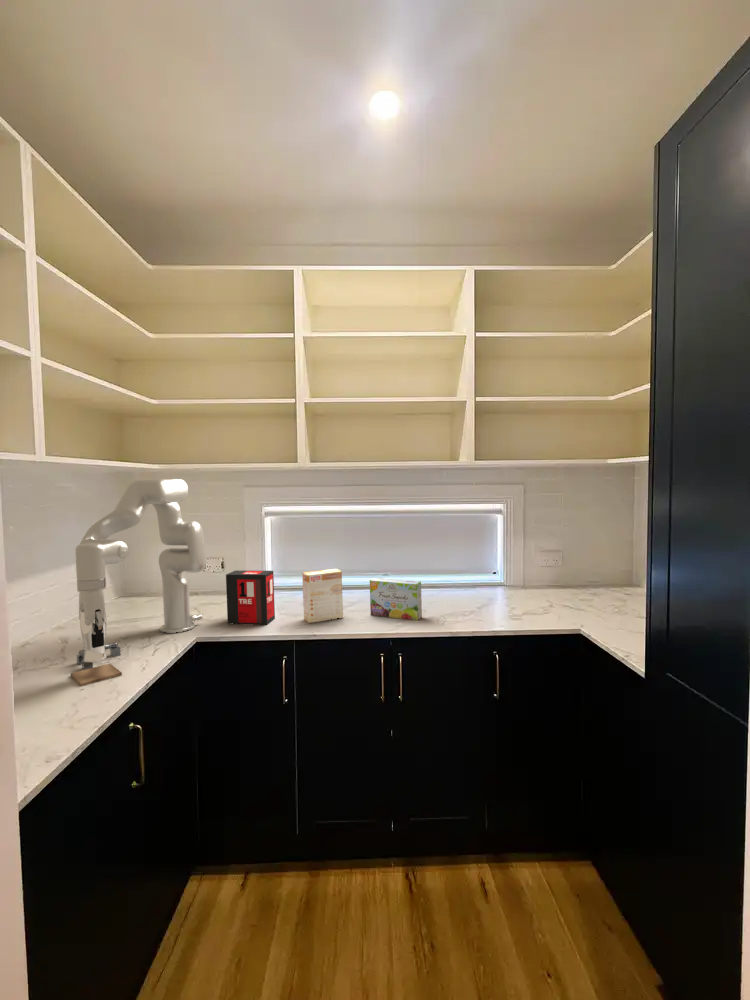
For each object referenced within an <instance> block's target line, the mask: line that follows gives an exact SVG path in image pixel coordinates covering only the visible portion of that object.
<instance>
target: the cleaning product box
mask: <svg viewBox="0 0 750 1000" xmlns="http://www.w3.org/2000/svg"><path fill="white" fill-rule="evenodd" d="M225 584H226V585H225V587H226V588H225V589H226V610H227V611H226V612H227V624H228V623H233V624H232V625H243V624H253V626H268V625H270V624H271V623H272V622H273V621H274V620H276V612H275V611H276V610H275V609H276V608H275V581H274V570H239V569H238V570H237V569H236V570H233V571H231V572H229V573H226V574H225Z"/></svg>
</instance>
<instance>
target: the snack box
mask: <svg viewBox="0 0 750 1000" xmlns="http://www.w3.org/2000/svg"><path fill="white" fill-rule="evenodd" d="M369 596H370V597H369V600H370V602H369V603H370V605H369V606H370V616H374V617H375V616H377V617H386V618H392V619H400V620H411V621H419V620H420V619H421V618H422V616H423V613H422V612H423V610H422V609H423V606H422V605H423V603H422V602H423V601H422V582H421V581H417V580H406V579H404V580H403V579H396V578H395V579H393V578H383V577H382V578H381V577H380V578H379V577H373V578H371V579H370V580H369Z"/></svg>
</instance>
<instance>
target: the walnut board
mask: <svg viewBox="0 0 750 1000" xmlns="http://www.w3.org/2000/svg"><path fill="white" fill-rule="evenodd" d="M122 673H123V672H122V671H120V670H119V669H118V668H116V667H115V666H114V665H112V663H107V664H102V665H98V666H95V667H94V666H93V668H90V669H86V670H84V669H83V670H78V671H75V672H71V673H70V677H71V678H72V679H73V680H74V681H75V682H76V683H77V684H78V685H79V686H80V687H83V685H84V686H88V685H90V683H91V684H94V682H95V683H97V682H102V681H105V679H106V680H109V678H110V679H113V678H116V677H119V676H123V675H122ZM101 680H102V681H101Z"/></svg>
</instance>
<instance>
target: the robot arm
mask: <svg viewBox="0 0 750 1000" xmlns="http://www.w3.org/2000/svg"><path fill="white" fill-rule="evenodd" d="M188 495H189V486H188V484H187V482H186V481H185V480H184V479H182V478H151V479H150V478H149V479H136V480H134V481H131V482H130V483H129V484H128V485H127V488H126V489H125V491H124V493H123V494H122V496H121V497H120V499H119V501H118V503H117V505H116V506H115V508H114V510H113V511H111V512H109V513H108V514H106V515H105V516H103V517H102V518H100V519H99V520H98V521H96V522H95V523H94V524H92V525H91V526H90V527H89V528H88V530H87V531H86V532H85V534H84V536H83V537H82V539H81V541H80V543H79V544H78V545H76V547H75V552H74V553H75V569H76V590H77V592H78V594H79V595H78V619H79V621H80V611H82V612H84V617H85V624H86V625H87V626H90V624H92V633H93V634H91V639H92V648H96V647H101V646H104V629H103V628H104V627H103V625H104V622H105V612H106V607H105V606H106V605H105V604H106V603H105V595H104V590H106V589H107V578H106V575H107V574H106V565H112V564H114V565H115V564H119V563H122V562H123V561H125V560H126V559H127V558H128V554H129V547H128V544H127V543H126V542H125V541H122V540H120V539H113V538H112V539H108V538H110V537H112V536H113V535H115V534H117V533H120V532H123V531H126V530H128V529H130V528H133V527H135V526H137V525H138V524H139V523H140V521H141V519H142V517H143V516H144V513H145V512H146V509H148V506H149V505H152V506H153V507H154V509H155V511H156V517H157V523H158V530H159V531H158V532H159V537H160V541H161V543H162V544H163V545H165V546H187V547H168V548H166V549H164V550H162V551H161V552H160V554H159V556H158V566H159V569H160V574H161V580H162V581H161V582H162V597H163V598H162V599H163V601H162V602H163V604H162V605H163V625H161V626H160V627H159V630H160V631H159V632H161V631H162V632H161V633H164V632H166V634H175V633H176V632H178V633H183V631H184V632H187V630H188V631H190V630H193V629H194V628H195V627H196V625H195V621H201V620H203V614H197V615H196V614H194V615H193V614H191V605H190V603H191V602H190V583H189V579H188V578H187V576H186V575H185V574H187V573H188V574H189V573H190V574H192V573H193V574H194V573H195V574H196V573H201V572H202V571H203V570H204V569H205V568H206V565H207V553H206V546H205V537H204V530H203V527H202V525H201V524H200V523H199V522H198V521H195V520H184V519H183V517H182V511H181V506H180V504H179V503H181V502H183V501H184V500H185V499H186V498H187V497H188ZM95 617H96V620H97V623H93V622H94V619H95ZM102 618H103V619H102ZM95 625H97V626H96V628H95ZM176 634H177V633H176Z"/></svg>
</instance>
